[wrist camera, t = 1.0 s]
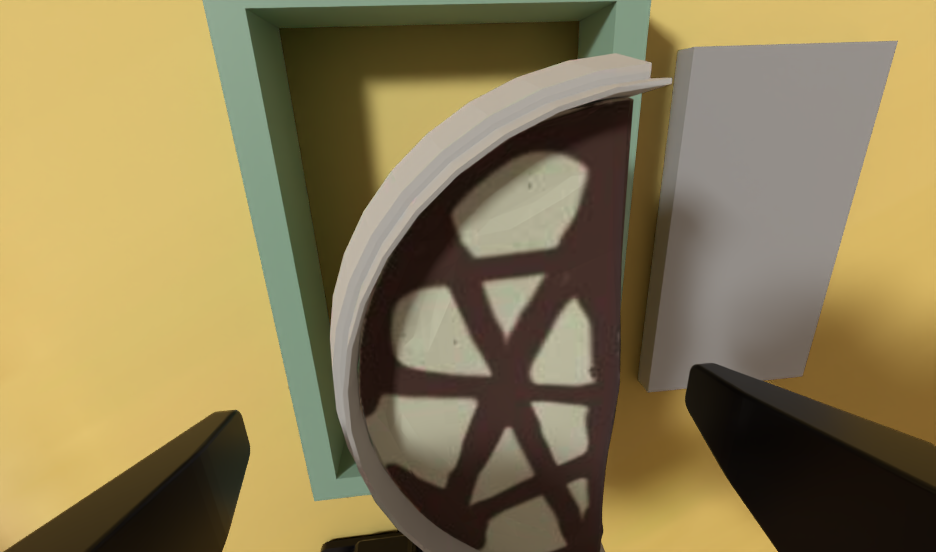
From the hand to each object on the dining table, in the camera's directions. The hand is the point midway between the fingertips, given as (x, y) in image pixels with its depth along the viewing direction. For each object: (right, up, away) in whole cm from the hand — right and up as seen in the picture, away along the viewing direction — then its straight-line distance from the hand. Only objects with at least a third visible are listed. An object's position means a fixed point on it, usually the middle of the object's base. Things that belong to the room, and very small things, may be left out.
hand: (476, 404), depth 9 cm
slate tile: (+11, +4, +10) cm, 16 cm away
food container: (-1, +4, +9) cm, 10 cm away
